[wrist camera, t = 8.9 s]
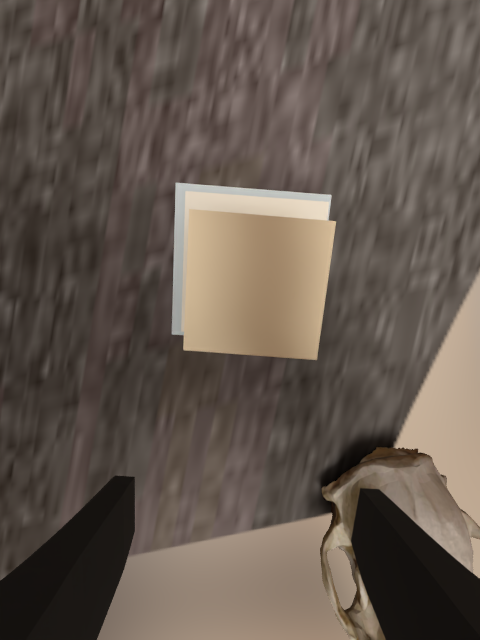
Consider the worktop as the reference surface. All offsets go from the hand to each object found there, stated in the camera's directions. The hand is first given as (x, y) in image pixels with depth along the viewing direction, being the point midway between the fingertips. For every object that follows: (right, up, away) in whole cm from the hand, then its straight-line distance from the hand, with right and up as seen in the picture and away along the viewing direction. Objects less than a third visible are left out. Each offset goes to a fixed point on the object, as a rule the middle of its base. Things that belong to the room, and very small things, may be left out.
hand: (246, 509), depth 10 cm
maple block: (0, +8, +5) cm, 10 cm away
